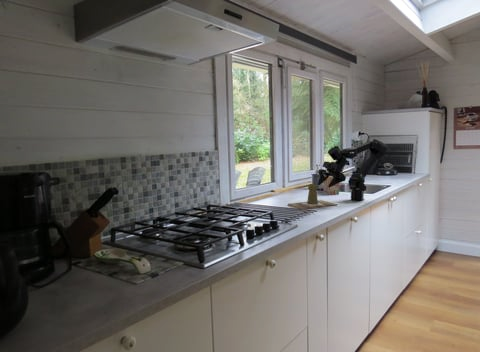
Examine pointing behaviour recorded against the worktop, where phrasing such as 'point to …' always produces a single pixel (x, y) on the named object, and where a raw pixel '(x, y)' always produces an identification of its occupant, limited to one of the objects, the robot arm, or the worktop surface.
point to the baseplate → (308, 206)
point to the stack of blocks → (332, 190)
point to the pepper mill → (312, 194)
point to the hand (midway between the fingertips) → (323, 186)
